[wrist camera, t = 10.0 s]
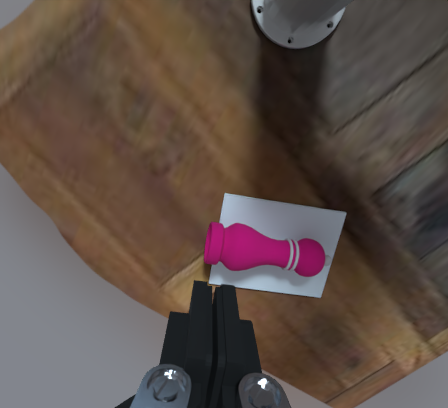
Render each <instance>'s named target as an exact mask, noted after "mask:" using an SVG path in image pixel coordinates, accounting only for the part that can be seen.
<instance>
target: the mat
mask: <svg viewBox="0 0 448 408" xmlns="http://www.w3.org/2000/svg"><path fill="white" fill-rule="evenodd" d="M346 214H347V213H346V212H343V211H336V210H330V209H323V208H317V207H311V206H304V205H298V204H291V203H285V202H278V201H272V200H266V199H259V198H253V197H246V196H240V195H233V194H227V193H225V194H224V199H223V205H222V210H221V216H220V222H219V223H222V224H223V226H224V228H226V227H228V226H230V225H232V224H234V223H241V224H245V225H247V226H250V227H252V228H253V229H255V230H257V231H258V232H260V233H261V234H263V235H265V236H267V237H269V238H272V239H276V240H285V239H286V238H289V239H295V240H296V241H299V240H300V239H303V238H309V239H313V240H315V241H317V242H319V243H320V244H321V246H322V247H323V249H324V251H325V255H329V256H330V257H331V259H333V256H334V253H335V250H336V246H337V243H338V240H339V237H340V233H341V230H342V227H343V224H344V220H345V217H346ZM330 266H331V264H330V265H329V266H324V267H323V269H322V270H321V272H320V273H318V274H317V275H315V276H312V277H303V276H300V275H299V274H297V273H296V272H295V271H294V270H293V271H288V270H286V271H284V270H282V269H281V267H278V266H274V265H261V266H257V267H254V268H251V269H247V270H243V271H231V270H229V269H227V268H226V267H225V266H224V265H223V264H222V263H221V262H220V261H219V262H218V264H216V265H212V266H211V272H210V278H209V284H216V285H221V284H227V285H234V286H235V287H240V288H248V289H256V290H263V291H271V292H279V293H287V294H295V295H303V296H311V297H319V298H321V295H322V292H323V289H324V286H325V282H326V279H327V276H328V273H329V269H330Z"/></svg>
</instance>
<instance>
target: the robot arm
mask: <svg viewBox="0 0 448 408" xmlns="http://www.w3.org/2000/svg"><path fill="white" fill-rule="evenodd" d="M352 1H353V0H251V5H252V11H253V15H254V17H255V20H256V23H257V24H258V26H259V28H260V30H261V31H262V32H263V33H264V35H265V36H266V37H267V38H268V39H270V40H271V41H272V42H273V43H275V44H277V45H279V46H281V47H285V48H289V49H301V48H307V47H310V46H312V45H315V44H316V43H318V42H320V41H321V40H323V39H324V38H325V37H327V36H328V35H329V34H330V33H331V32H332V31H333V30H334V29H335V27H336V26H337V24H338V23H339V21H340V20H341V18H342V15H343V13H344V11H345V8H346V6H347V5H348V4H349V3H351V2H352ZM257 10H260V11H261V13H258V12H257ZM327 25H329V28H328V27H327ZM288 40H290V41H291V43H290V44H289V43H288ZM115 408H291V406H290V404H289V401H288V399H287V396H286V394H285V392H284V390H283V388H282V387H281V385H280V384H279V383H278V382H277V381H276V380H275V379H273V378H272V377H270V376H268V375H265V374H263V373H262V370H261V365H260V360H259V355H258V350H257V345H256V340H255V334H254V329H253V324H252V322H251V321H249V320H240V319H239V311H238V304H237V297H236V290H235V286H234V285H227V284H221V287H216V288H215V293H214V299H213V304H212V286H207V282H203V281H195V280H194V284H193V290H192V296H191V302H190V309H189V314H188V313H180V312H171V311H170V315H169V320H168V324H167V329H166V334H165V339H164V344H163V349H162V354H161V359H160V364H159V365H158V366H156V367H153V368H152V369H150V370H149V371H148V372H147V373H146V375H145V376H144V378H143V379H142V382H141V384H140V386H139V388H138V391H137V393H136V394H135V395H134V396H132V397H130V398H129V399H127V400H126V401H124V402H123V403H121V404H120V405H118V406H117V407H115Z"/></svg>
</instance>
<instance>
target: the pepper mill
mask: <svg viewBox="0 0 448 408" xmlns="http://www.w3.org/2000/svg"><path fill="white" fill-rule="evenodd" d="M219 261H220V262H221V263H222V264H223V265H224V266H225V267H226V268H227V269H229V270H231V271H243V270H247V269H251V268H254V267H257V266H261V265H274V266H278V267H281V269H282V270H284V271H286V270H288V271H293V270H294V271H295V272H296V273H297V274H299V275H300V276H303V277H312V276H315V275H317V274H318V273H320V272H321V270H322V269H323V267H324V266H329V265H330V264H331V263H332V259H331V257H330V256H329V255H325V251H324V249H323V247H322V246H321V244H320V243H319V242H317V241H315V240H313V239H309V238H303V239H300V240H299V241H296V240H295V239H289V238H286V239H285V240H276V239H272V238H269V237H267V236H265V235H263V234H261V233H260V232H258V231H257V230H255V229H253V228H252V227H250V226H247V225H245V224H241V223H234V224H232V225H230V226H228V227H226V228H224V226H223V224H222V223H216V222H211V223H210V225H209V228H208V233H207V237H206V243H205V251H204V262H205V263H206V264H212V265H216V264H218V262H219Z"/></svg>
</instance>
